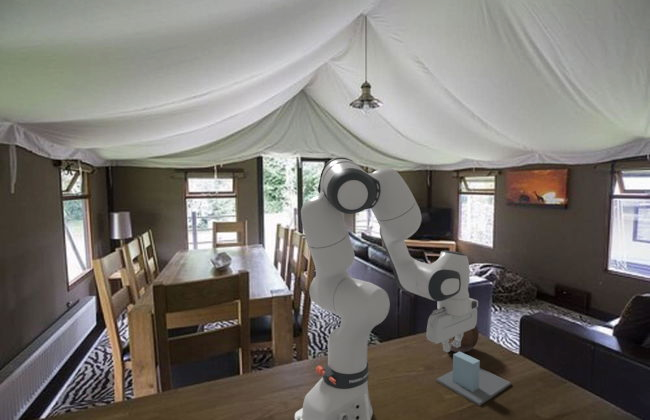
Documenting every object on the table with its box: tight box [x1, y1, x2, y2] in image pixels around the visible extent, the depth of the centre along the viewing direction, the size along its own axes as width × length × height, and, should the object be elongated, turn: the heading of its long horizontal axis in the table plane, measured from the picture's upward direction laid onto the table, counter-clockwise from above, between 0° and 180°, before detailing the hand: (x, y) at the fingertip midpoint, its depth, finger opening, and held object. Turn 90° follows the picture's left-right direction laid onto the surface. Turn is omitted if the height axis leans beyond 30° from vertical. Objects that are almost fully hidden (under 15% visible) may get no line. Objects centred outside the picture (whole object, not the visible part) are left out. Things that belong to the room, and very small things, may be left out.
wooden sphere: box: [448, 324, 480, 353], centre depth 129 cm, size 15×15×15 cm
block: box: [452, 351, 481, 392], centre depth 106 cm, size 4×7×9 cm, turn 34°
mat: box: [435, 367, 512, 407], centre depth 108 cm, size 18×15×1 cm
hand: (451, 348), depth 100 cm, fingers open, 3 cm apart
